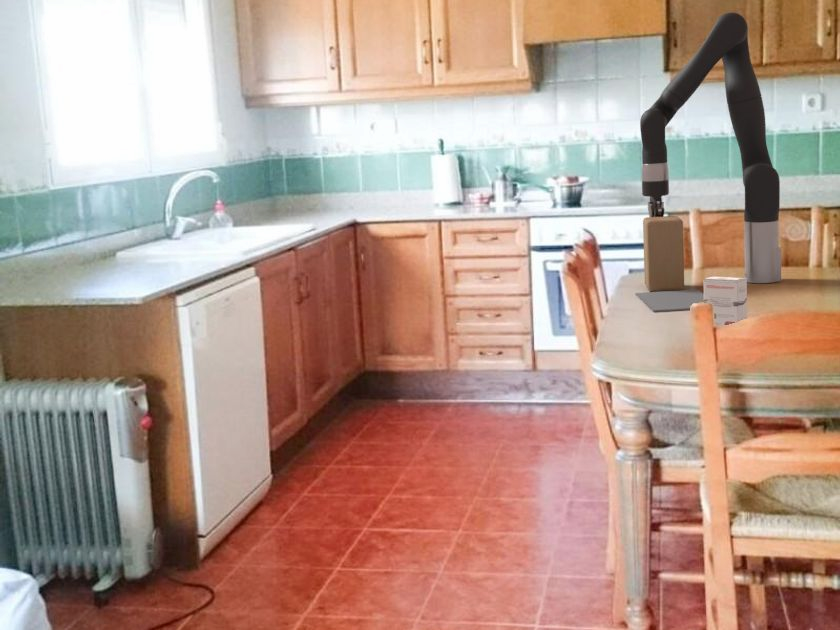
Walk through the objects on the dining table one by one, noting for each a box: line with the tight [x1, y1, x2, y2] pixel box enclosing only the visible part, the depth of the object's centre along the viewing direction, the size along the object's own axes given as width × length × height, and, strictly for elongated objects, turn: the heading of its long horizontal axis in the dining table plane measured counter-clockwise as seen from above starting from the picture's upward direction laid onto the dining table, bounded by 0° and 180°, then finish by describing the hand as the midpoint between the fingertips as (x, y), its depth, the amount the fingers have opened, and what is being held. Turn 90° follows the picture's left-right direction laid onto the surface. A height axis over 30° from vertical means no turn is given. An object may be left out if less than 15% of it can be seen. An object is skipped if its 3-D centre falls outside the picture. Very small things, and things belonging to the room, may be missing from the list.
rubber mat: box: [634, 288, 704, 313], centre depth 279 cm, size 17×27×1 cm, turn 178°
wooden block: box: [642, 215, 685, 292], centre depth 298 cm, size 10×10×20 cm
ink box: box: [703, 276, 748, 326], centre depth 239 cm, size 9×5×12 cm, turn 48°
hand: (656, 238), depth 306 cm, fingers closed
